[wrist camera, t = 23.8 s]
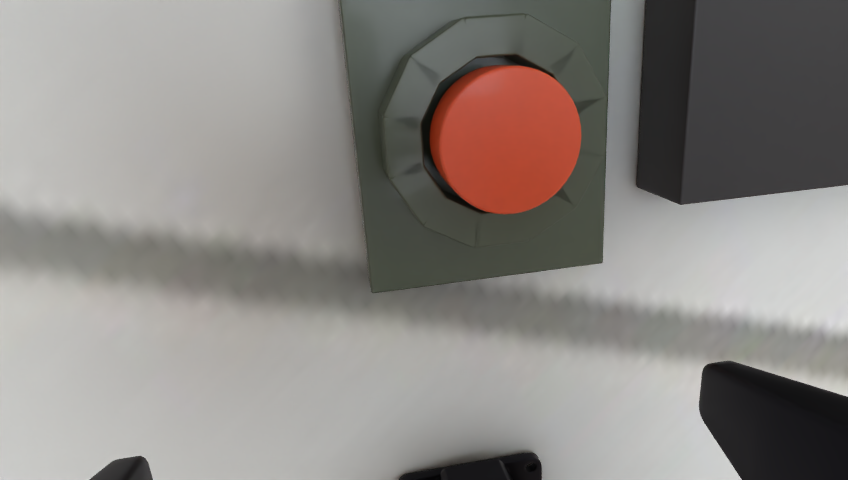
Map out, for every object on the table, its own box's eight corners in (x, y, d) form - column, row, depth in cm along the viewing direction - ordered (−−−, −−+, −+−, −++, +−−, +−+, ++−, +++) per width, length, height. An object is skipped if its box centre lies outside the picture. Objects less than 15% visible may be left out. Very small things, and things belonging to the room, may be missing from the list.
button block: (587, 251, 23) (623, 278, 20) (369, 280, 22) (375, 312, 19) (594, -44, 20) (639, -62, 17) (334, -31, 18) (336, -47, 16)
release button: (559, 194, 19) (581, 206, 18) (433, 208, 19) (444, 222, 17) (560, 60, 18) (584, 60, 16) (424, 70, 17) (434, 71, 16)
